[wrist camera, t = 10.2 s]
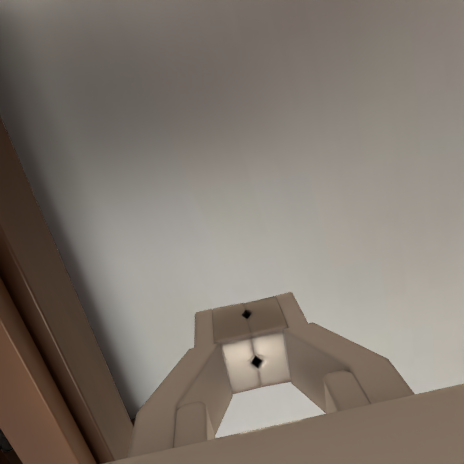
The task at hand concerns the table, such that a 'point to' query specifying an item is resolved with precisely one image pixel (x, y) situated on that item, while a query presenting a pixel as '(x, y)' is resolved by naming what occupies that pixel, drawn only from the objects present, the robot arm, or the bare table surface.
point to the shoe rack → (48, 345)
